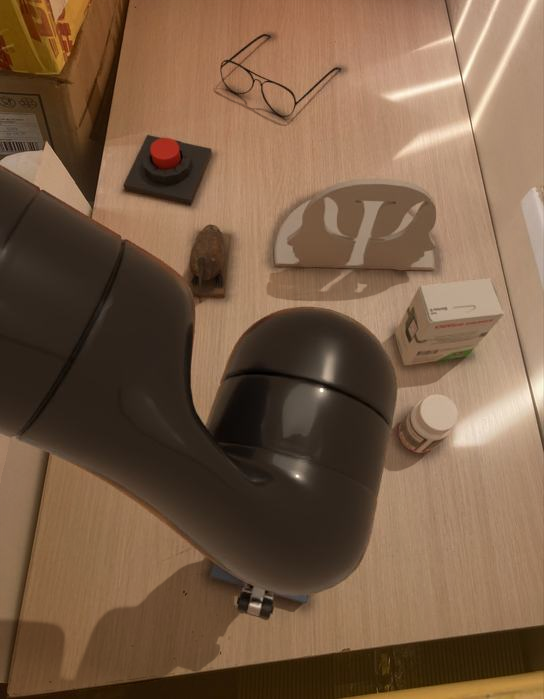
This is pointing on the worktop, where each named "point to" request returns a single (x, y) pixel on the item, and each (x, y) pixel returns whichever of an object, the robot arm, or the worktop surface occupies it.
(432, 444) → the pill bottle
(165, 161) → the button
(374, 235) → the psi symbol sculpture
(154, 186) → the button base
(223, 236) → the figurine
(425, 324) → the ink box
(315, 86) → the glasses
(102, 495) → the worktop surface
